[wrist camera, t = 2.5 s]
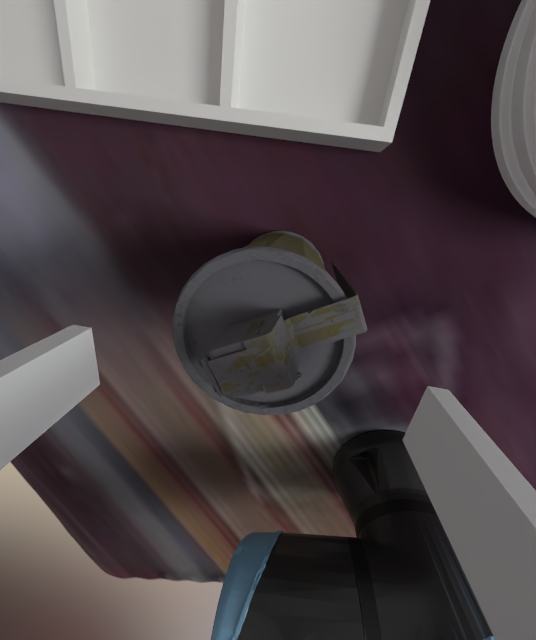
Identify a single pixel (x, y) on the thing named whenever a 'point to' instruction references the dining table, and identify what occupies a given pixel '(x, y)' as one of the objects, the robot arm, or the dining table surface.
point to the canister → (267, 326)
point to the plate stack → (517, 108)
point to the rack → (219, 63)
